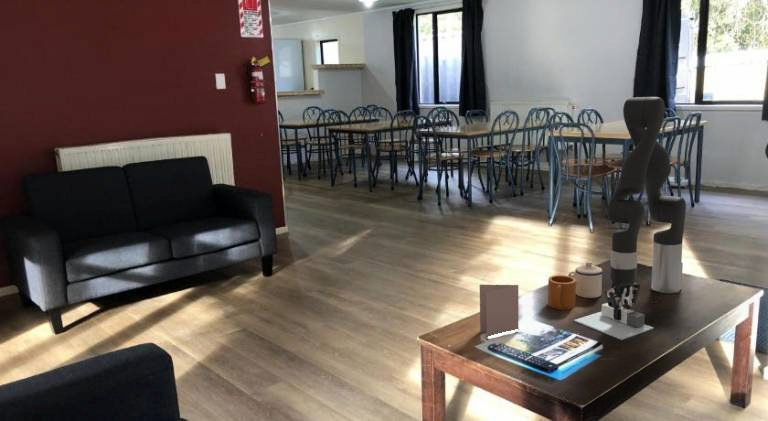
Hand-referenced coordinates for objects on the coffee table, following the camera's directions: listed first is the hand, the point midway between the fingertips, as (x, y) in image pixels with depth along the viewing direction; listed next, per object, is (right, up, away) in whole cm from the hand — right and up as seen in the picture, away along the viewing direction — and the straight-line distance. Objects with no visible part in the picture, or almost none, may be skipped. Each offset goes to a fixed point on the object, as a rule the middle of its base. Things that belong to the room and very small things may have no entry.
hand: (621, 318), depth 195 cm
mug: (-15, +1, +16) cm, 22 cm away
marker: (0, -1, 0) cm, 1 cm away
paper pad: (-3, -2, -2) cm, 4 cm away
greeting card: (-39, -4, -6) cm, 39 cm away
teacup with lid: (-3, +4, +27) cm, 27 cm away
